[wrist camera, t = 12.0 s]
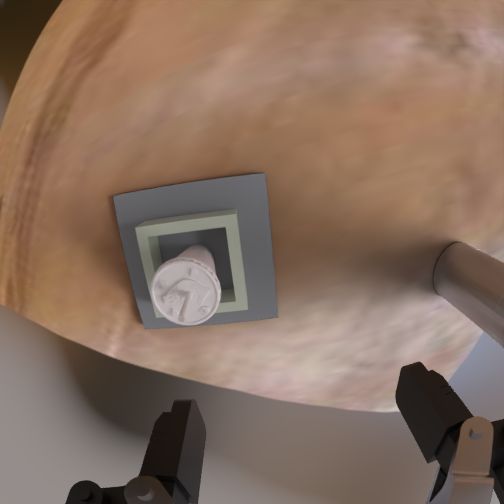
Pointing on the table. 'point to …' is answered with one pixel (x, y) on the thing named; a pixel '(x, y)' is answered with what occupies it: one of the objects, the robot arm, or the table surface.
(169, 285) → the smoothie
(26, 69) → the table surface
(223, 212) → the stand
